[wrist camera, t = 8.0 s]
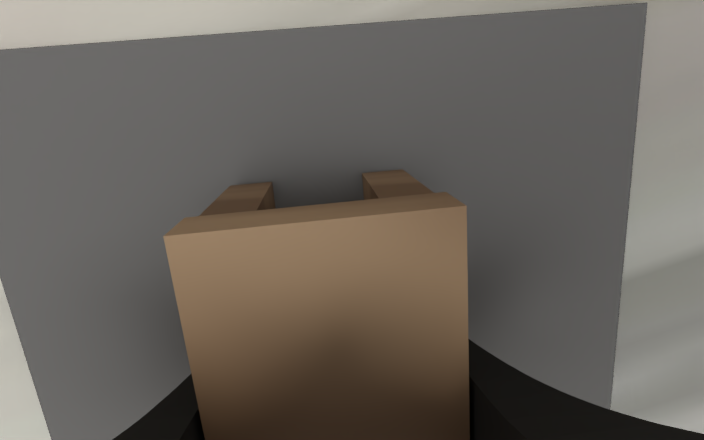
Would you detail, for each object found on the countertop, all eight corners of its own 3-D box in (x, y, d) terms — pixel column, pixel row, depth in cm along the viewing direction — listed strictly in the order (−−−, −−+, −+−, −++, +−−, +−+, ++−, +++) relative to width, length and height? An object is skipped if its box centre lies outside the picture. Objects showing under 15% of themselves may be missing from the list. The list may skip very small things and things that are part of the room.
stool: (416, 446, 15) (472, 631, 10) (274, 465, 15) (251, 666, 10) (402, 162, 13) (466, 205, 7) (228, 178, 12) (163, 236, 7)
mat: (637, 5, 13) (647, 2, 13) (596, 484, 18) (602, 493, 18) (-58, 56, 12) (-71, 54, 12) (95, 552, 17) (90, 562, 16)
